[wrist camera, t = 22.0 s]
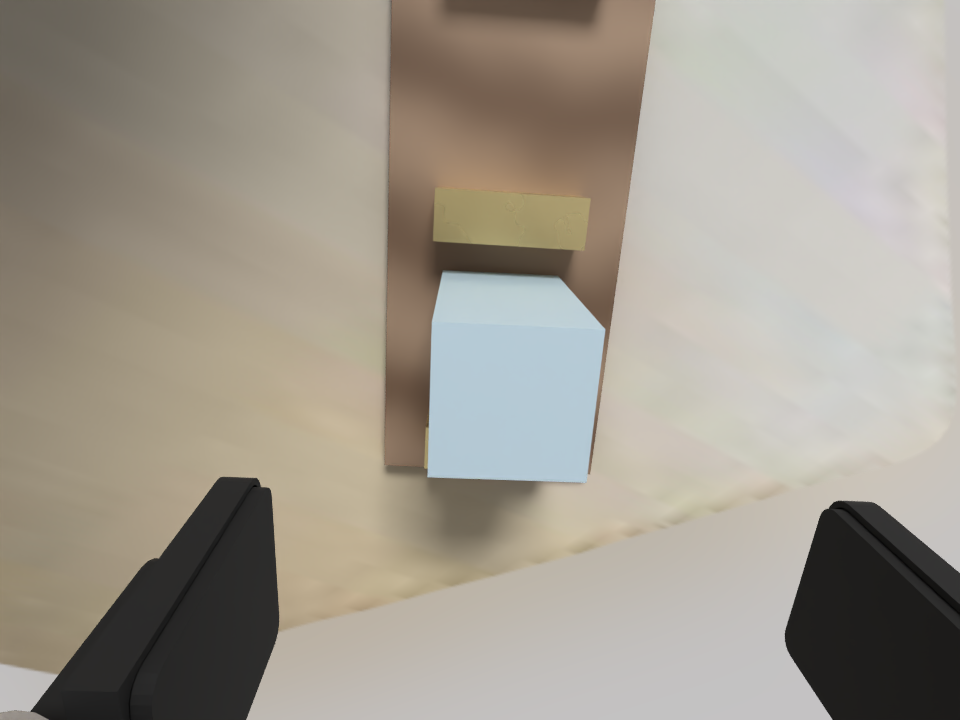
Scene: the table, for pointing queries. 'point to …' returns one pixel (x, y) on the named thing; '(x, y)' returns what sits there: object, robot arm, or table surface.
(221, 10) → the table surface
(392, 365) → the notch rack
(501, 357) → the painted block
